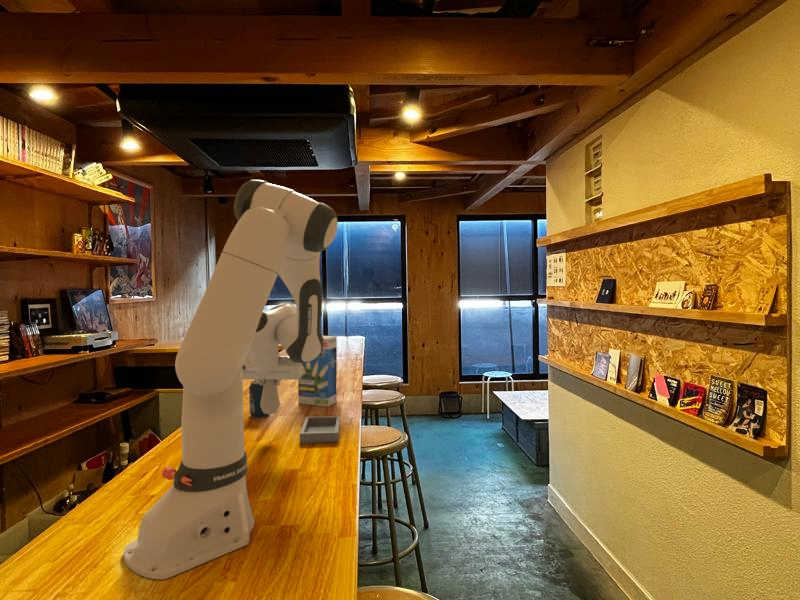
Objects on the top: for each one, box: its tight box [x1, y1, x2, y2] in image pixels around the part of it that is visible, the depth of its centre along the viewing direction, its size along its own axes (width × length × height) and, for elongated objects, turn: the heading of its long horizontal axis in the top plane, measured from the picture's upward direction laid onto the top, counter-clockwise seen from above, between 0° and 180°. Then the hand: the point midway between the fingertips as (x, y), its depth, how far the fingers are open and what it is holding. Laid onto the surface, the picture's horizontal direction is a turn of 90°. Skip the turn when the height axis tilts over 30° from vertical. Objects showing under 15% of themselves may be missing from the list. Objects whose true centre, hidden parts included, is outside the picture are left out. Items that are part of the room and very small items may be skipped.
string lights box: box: [297, 335, 338, 407], centre depth 176 cm, size 13×8×26 cm, turn 72°
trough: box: [299, 415, 341, 445], centre depth 142 cm, size 16×11×3 cm
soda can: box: [248, 380, 270, 419], centre depth 161 cm, size 7×7×12 cm
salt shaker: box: [260, 379, 281, 415], centre depth 139 cm, size 6×6×13 cm
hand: (270, 383), depth 140 cm, fingers closed on salt shaker, 3 cm apart
